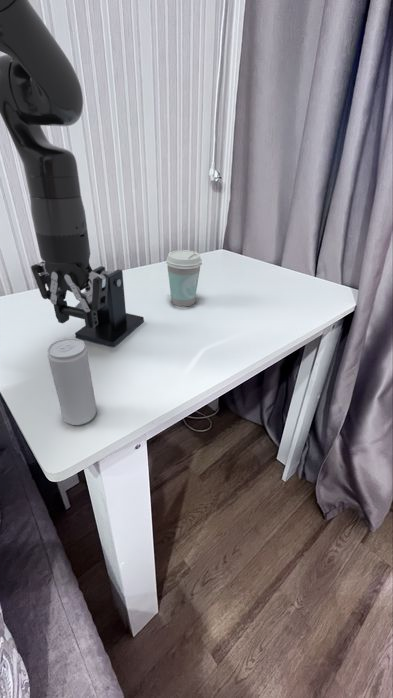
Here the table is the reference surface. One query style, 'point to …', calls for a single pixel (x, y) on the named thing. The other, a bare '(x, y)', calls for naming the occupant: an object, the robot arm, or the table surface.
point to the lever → (78, 309)
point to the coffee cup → (183, 276)
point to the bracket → (112, 315)
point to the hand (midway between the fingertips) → (77, 324)
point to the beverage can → (72, 380)
